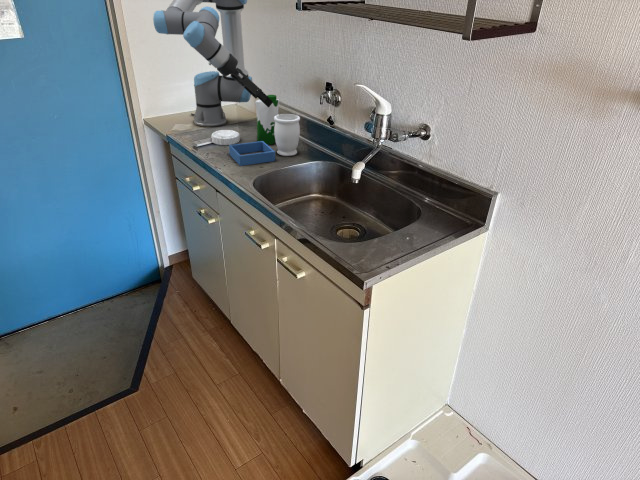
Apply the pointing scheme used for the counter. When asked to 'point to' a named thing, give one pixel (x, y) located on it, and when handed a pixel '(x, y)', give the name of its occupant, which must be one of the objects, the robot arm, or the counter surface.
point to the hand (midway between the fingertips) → (264, 100)
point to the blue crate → (254, 158)
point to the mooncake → (225, 137)
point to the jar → (287, 133)
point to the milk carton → (266, 120)
